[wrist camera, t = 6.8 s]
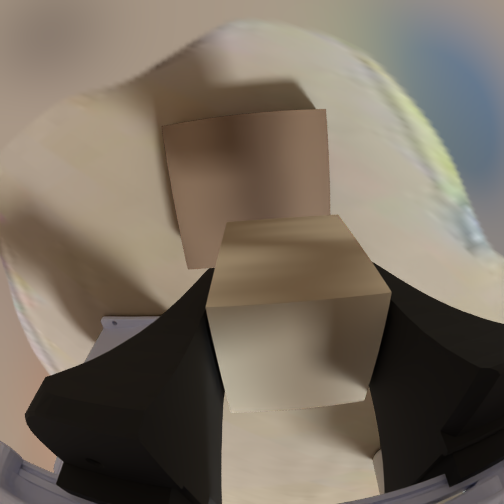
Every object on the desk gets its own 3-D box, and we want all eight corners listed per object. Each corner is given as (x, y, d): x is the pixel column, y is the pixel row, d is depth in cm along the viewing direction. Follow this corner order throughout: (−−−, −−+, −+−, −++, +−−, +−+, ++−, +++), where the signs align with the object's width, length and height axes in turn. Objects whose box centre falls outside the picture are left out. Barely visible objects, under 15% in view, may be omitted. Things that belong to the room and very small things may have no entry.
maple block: (238, 312, 12) (230, 412, 8) (226, 222, 11) (205, 307, 6) (333, 305, 12) (364, 400, 8) (338, 214, 10) (391, 291, 6)
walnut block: (196, 249, 22) (188, 269, 19) (175, 124, 18) (161, 126, 15) (321, 238, 21) (329, 257, 18) (315, 109, 17) (325, 109, 14)
